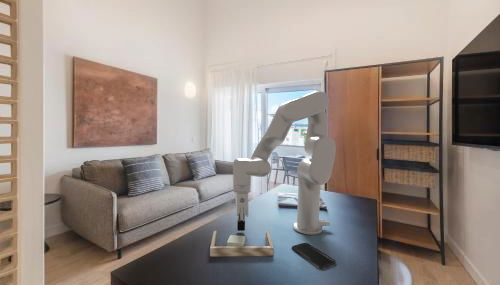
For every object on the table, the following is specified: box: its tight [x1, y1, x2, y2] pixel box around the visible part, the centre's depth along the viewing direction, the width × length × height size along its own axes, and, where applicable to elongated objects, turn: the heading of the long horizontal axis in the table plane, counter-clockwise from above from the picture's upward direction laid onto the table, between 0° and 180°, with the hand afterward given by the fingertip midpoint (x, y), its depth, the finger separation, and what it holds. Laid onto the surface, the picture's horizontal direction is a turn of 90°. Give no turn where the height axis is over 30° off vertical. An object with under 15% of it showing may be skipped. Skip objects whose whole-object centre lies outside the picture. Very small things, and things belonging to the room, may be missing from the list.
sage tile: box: [226, 234, 246, 246], centre depth 89 cm, size 6×6×2 cm
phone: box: [291, 242, 337, 270], centre depth 83 cm, size 8×1×15 cm
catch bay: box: [209, 230, 274, 257], centre depth 88 cm, size 22×14×3 cm, turn 93°
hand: (241, 229), depth 100 cm, fingers closed
